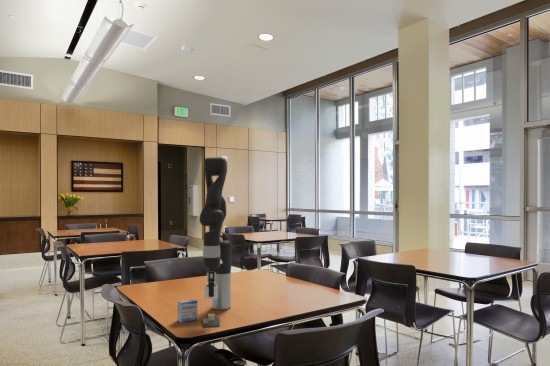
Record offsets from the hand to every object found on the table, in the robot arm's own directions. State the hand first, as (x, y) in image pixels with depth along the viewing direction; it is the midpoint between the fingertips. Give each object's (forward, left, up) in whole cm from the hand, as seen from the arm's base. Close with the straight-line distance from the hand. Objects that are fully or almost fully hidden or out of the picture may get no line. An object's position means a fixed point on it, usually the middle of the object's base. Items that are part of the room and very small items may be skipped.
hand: (211, 295), depth 169 cm
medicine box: (-7, -10, -13) cm, 18 cm away
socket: (0, 0, -1) cm, 1 cm away
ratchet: (-4, 0, -12) cm, 13 cm away
